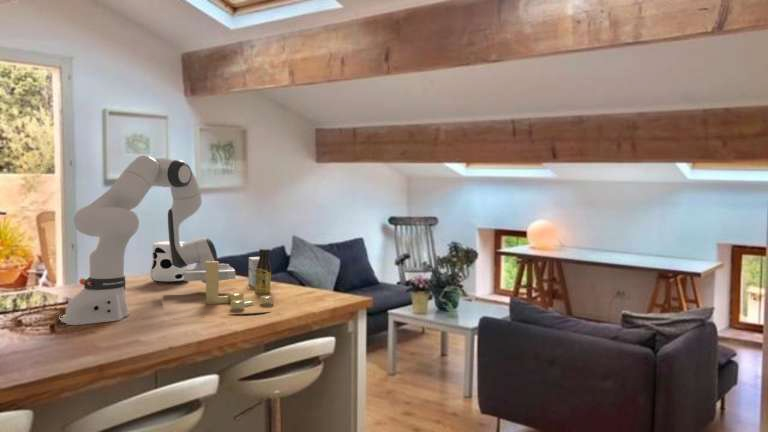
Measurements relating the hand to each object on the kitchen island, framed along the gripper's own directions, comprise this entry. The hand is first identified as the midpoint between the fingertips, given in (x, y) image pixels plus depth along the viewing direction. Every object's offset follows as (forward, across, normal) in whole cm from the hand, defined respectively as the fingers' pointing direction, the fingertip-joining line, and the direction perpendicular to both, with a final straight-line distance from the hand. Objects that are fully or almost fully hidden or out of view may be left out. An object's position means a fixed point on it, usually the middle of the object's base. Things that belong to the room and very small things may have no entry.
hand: (211, 277), depth 250 cm
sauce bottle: (-8, +22, +10) cm, 25 cm away
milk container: (-50, -13, +10) cm, 52 cm away
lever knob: (+9, +4, +8) cm, 13 cm away
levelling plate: (+15, +11, +10) cm, 22 cm away
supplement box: (-32, +24, +10) cm, 41 cm away
